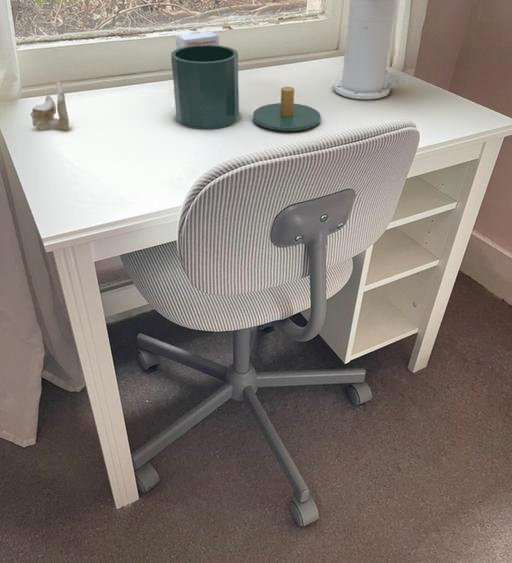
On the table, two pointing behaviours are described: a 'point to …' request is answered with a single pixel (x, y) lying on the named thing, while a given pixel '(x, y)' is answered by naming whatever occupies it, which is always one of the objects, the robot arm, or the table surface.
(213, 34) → the ink box
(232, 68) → the tin
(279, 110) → the lid
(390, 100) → the table surface
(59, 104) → the bone
